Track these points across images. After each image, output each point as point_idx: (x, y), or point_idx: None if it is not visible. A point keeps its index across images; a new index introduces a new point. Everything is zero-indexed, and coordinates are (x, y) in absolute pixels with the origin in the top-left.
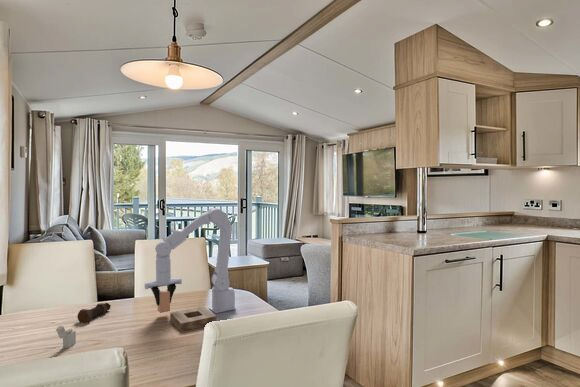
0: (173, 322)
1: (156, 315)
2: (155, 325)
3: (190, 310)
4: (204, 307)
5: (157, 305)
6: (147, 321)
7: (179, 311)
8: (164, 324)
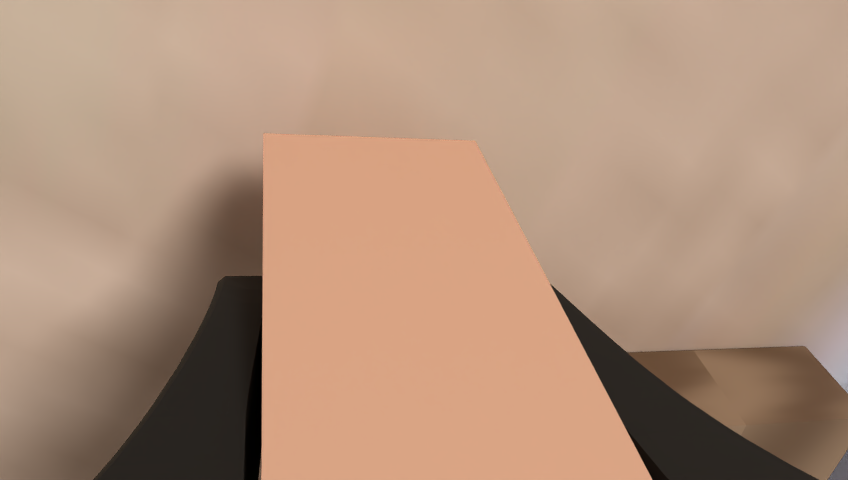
0: None
1: (251, 48)
2: None
3: None
4: (838, 453)
5: (263, 192)
6: (37, 253)
7: None
8: None
